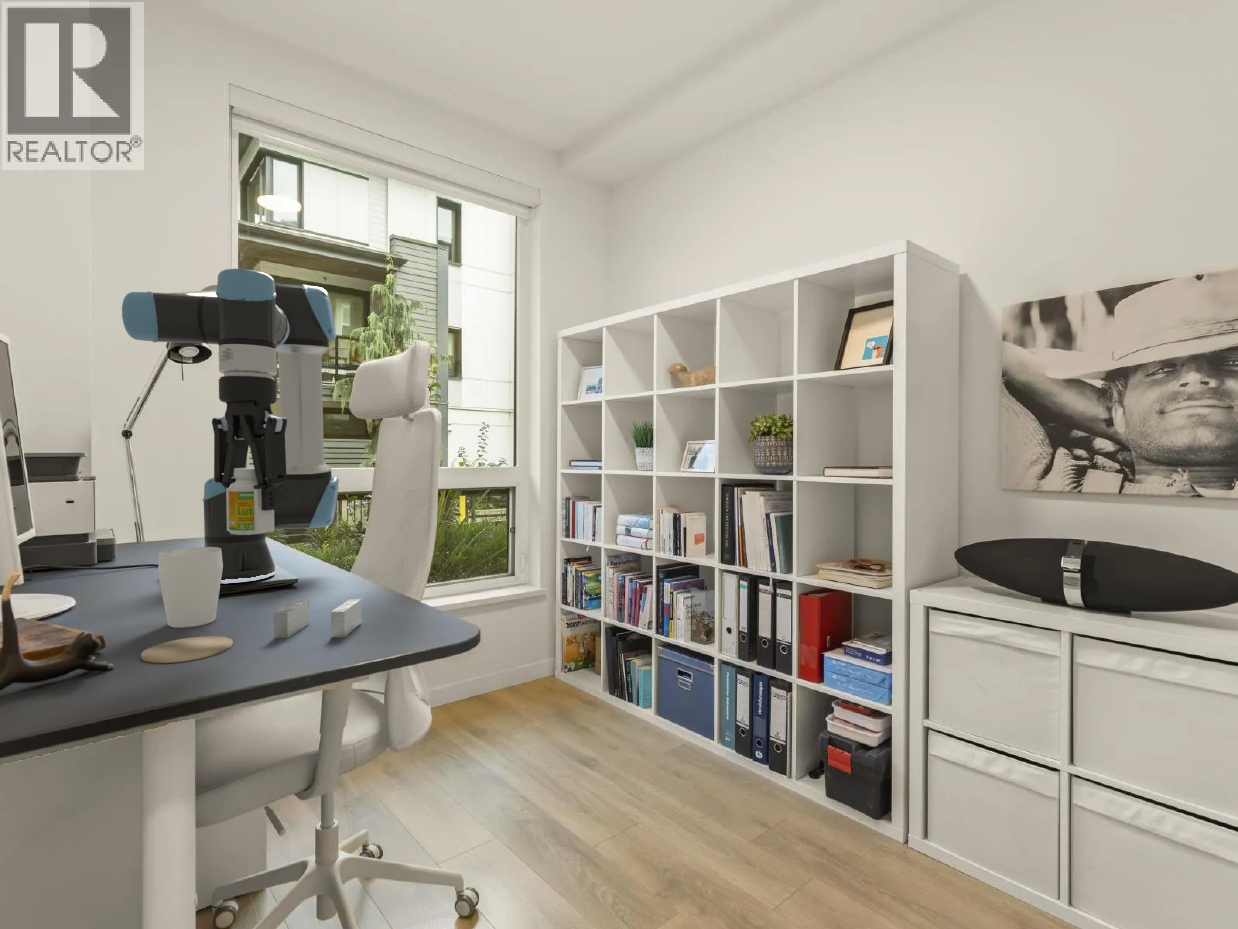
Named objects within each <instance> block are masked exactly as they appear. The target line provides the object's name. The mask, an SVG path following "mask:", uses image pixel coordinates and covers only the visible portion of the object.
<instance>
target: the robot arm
mask: <svg viewBox="0 0 1238 929" xmlns="http://www.w3.org/2000/svg"><path fill="white" fill-rule="evenodd" d="M216 283H217V284H211V285H208V286H206V287H204V288H202V289H201V290H200V291H198V290H197V291H183V292H169V293H168V292H167V293H166V292H152V291H149V290H148V291H146V292H145V291H131V292H129V293H126V295H125V296H124V298H123V300H122V305H121V318H122V323H123V326H124V329H125V331H126V333H127V334H128V336H129V337H130V338H132V339H133V340H135V341H145V342H152V343H160V342H161V343H181V344H182V343H183V344H185V343H187V344H190V343H191V344H206V345H207V344H209V345H218V371H219V373H221V374H223V375H222V376H220V377H219V379H218V398H219V399H218V400H219V401H220V402H222V403H225V404H226V408H225V409H226V410H225V412H224V416H222V417H220V418H219V417H213V418H212V419H211V424H212V430H213V435H214V437H213V442H214V444H213V452H214V453H213V477H211V478H208V479H207V480H206V481H205V483H204V486H203V489H204V490H203V498H202V502H203V526H204V527H203V529H204V546H203V547H218V548H221V551H222V562H223V569H222V577H221V580H225V579H238V578H251V577H256V576H260V575H267V574H269V573H272V572H274V571H275V572H276V564H275V561H274V560H273V557H272V556H273V555H271V551H270V548H269V547H268V544H267V535H266V532H267V533H272V532H275V530H286V529H287V530H288V529H289V530H292V529H294V530H295V529H308V530H312V529H315V528H316V529H318V528H327V527H329V526H330V525H332V523H333V521H334V519H335V513H336V509H337V504H338V502H337V501H338V496H339V484H340V482H339V481H340V480H339V477H337V476H335V475H332V468H331V467H330V466H329V465H328V464H326V462H325V455H324V454H325V448H324V415H323V414H324V412H323V411H324V410H323V407H324V406H323V405H324V404H323V367H322V356H323V355H324V354H325V353H326V352H327V351H328V350H329V349H330V348H329V346H330V344H329V341H330V342H333V341H335V340H336V339H337V335H336V324H335V318H334V317H335V316H334V312H333V306H332V303H331V302H332V301H331V298H330V296H329V293H328V290H326V289H324V288H323V287H320V286H315V285H310V284H309V285H308V284H297V283H280V282H275V280H274V278H273V277H272V276H271V275H269V274H267V273H265V272H262V271H259V270H253V269H247V268H246V269H245V268H228V269H223V270H221V271H220V272H219V273H218V275H217V282H216ZM277 356H278V366H277ZM277 368H278V370H277ZM277 374H278V379H279V381H278V382H279V383H278V384H279V386H278V385H277V381H276V379H275V378H273V377H275V376H277ZM277 386H278V388H279V416H280V417H279V416H276V415H274V413H273V410H272V407H271V406H272V405H273V404H275V403H277V401H278V398H277V397H278V394H277V393H278V392H277V391H278V390H277V389H278V388H277ZM249 448H250V454H251V460H252V464H253V468H254V469H255V474H256V479H257V483H258V485H255V486H253V487H254V533H257V534H252V535H236V534H231V533H230V532H229V486H230V485H231V484H232V483H234V482H236V478H234V469H235V468H246V464H247V457H248V453H249ZM259 533H261V534H259Z"/></svg>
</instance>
